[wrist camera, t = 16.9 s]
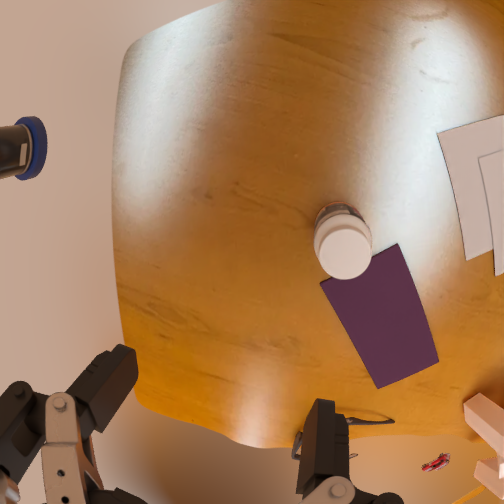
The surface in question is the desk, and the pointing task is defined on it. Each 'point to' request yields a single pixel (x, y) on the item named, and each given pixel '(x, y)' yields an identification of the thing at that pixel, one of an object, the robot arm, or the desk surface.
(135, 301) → the desk surface
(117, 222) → the desk surface
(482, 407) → the pile of blocks
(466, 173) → the paper stack
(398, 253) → the cloth
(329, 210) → the pill bottle
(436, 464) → the toy car
